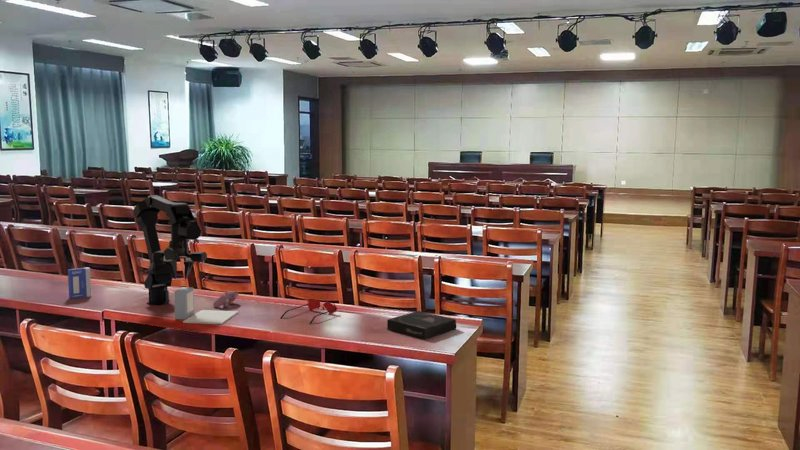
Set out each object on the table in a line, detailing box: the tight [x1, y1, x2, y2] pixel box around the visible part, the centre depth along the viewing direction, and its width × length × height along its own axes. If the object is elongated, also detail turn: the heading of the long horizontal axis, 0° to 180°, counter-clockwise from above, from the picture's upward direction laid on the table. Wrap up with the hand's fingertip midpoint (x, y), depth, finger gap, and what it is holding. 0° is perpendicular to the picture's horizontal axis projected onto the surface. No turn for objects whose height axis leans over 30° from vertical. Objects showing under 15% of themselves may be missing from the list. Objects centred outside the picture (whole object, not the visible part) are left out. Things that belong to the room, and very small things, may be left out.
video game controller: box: [212, 290, 239, 308], centre depth 242 cm, size 10×5×7 cm, turn 161°
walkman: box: [67, 266, 92, 300], centre depth 252 cm, size 8×3×12 cm, turn 134°
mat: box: [182, 309, 239, 325], centre depth 224 cm, size 14×16×1 cm
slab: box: [173, 286, 195, 320], centre depth 225 cm, size 4×7×10 cm, turn 174°
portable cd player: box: [386, 310, 457, 341], centre depth 213 cm, size 16×17×4 cm
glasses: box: [279, 298, 339, 325], centre depth 228 cm, size 14×16×5 cm
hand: (180, 278), depth 232 cm, fingers open, 4 cm apart
